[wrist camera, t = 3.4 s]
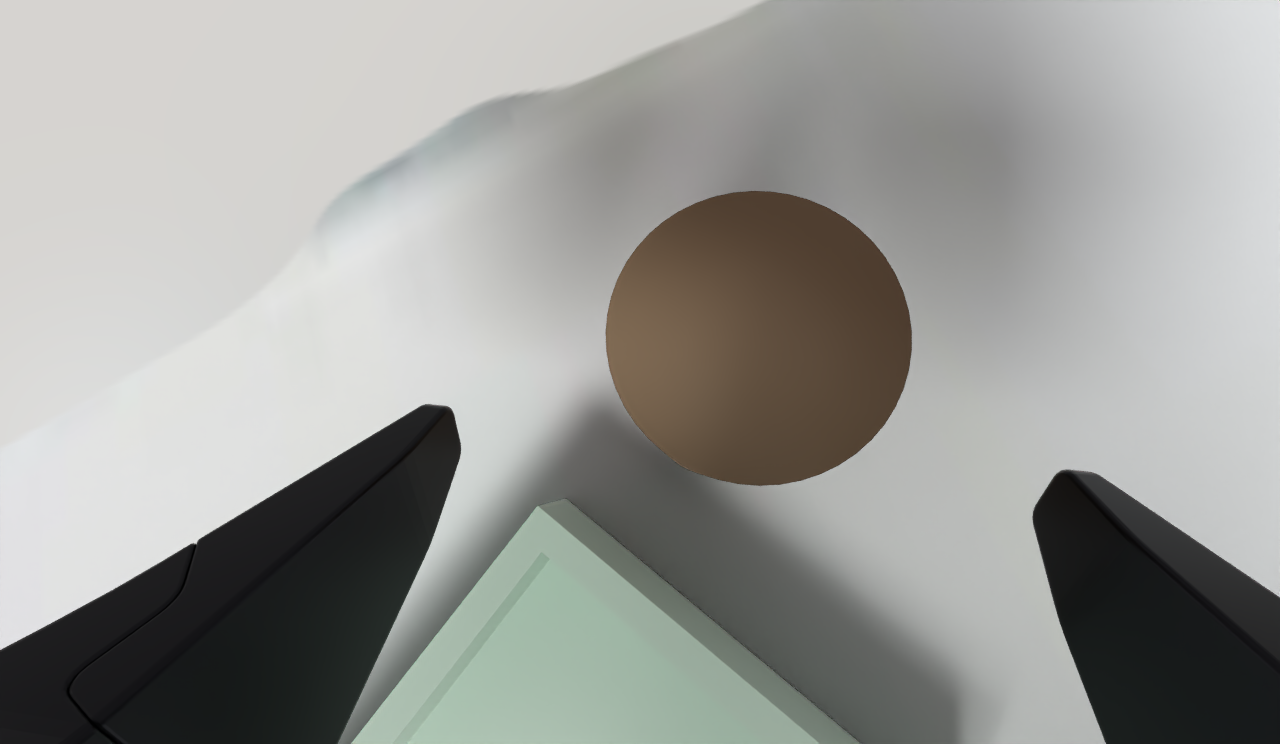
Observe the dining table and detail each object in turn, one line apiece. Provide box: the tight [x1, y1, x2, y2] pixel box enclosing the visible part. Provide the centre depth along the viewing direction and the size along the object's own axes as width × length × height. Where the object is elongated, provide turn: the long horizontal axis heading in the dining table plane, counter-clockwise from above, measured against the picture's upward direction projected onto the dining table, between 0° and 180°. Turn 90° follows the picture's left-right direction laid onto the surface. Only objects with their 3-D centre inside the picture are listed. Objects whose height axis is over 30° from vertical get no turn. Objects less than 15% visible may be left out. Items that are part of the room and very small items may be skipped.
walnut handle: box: [606, 191, 912, 486], centre depth 13 cm, size 4×4×10 cm
